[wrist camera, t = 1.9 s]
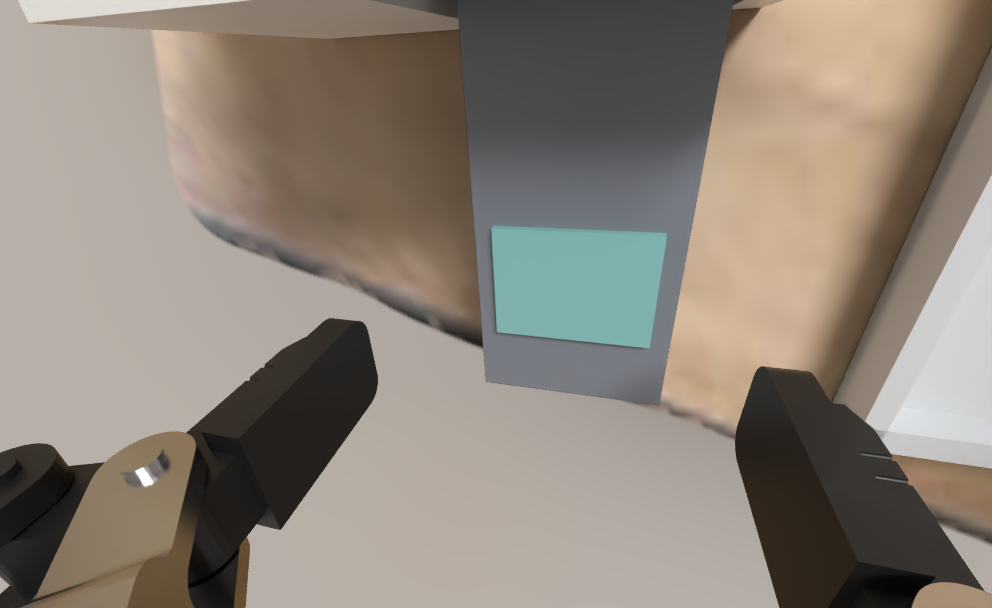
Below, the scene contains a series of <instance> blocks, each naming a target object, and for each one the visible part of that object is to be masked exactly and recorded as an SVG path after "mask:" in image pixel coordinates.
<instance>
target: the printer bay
mask: <svg viewBox="0 0 992 608" xmlns="http://www.w3.org/2000/svg"><path fill="white" fill-rule="evenodd" d="M18 1H19V3H20V6H21V8H22V9H23V12H24V14H25V16H26V18H27V20H28V22H29V23H37V24H56V25H77V26H95V27H114V28H115V27H116V28H133V29H152V30H171V31H190V32H210V33H229V34H248V35H267V36H286V37H306V38H325V39H333V38H347V37H361V36H375V35H388V34H402V33H416V32H430V31H444V30H457V29H459V19H458V6H457V0H18ZM779 1H782V0H734V1H733V7H732V10H733V9H747V8H761V7H765V6H768V5H771V4H774V3H777V2H779Z"/></svg>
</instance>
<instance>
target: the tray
mask: <svg viewBox="0 0 992 608" xmlns="http://www.w3.org/2000/svg"><path fill="white" fill-rule="evenodd" d="M832 403H836V404H844V405H845V406H847V407H848V408H849V409H850V410H852V411H853V412H854V413H855V414H856V415H858V416H859V417H860V418H861V419H863V420H864V421H865V422H866V423H867V424H869V425H870V426H871V427H872V428H874V430H875V431H876V433H877V434H878V436H879V437H880V439H881V440H882V442H883V443H884V444H885V446H886V447H887V449H888V450H889V452H890V453H891V454H895V455H902V456H909V457H916V458H923V459H929V460H936V461H943V462H950V463H957V464H964V465H971V466H978V467H984V468H991V469H992V48H991V50H990V53H989V55H988V57H987V59H986V62H985V64H984V66H983V68H982V71H981V73H980V75H979V77H978V79H977V82H976V84H975V86H974V88H973V91H972V93H971V95H970V97H969V99H968V102H967V104H966V106H965V108H964V111H963V113H962V115H961V117H960V119H959V122H958V124H957V126H956V128H955V131H954V133H953V135H952V137H951V139H950V142H949V144H948V146H947V148H946V151H945V153H944V155H943V157H942V160H941V162H940V164H939V166H938V168H937V171H936V173H935V175H934V177H933V180H932V182H931V184H930V186H929V188H928V191H927V193H926V195H925V197H924V200H923V202H922V204H921V206H920V208H919V211H918V213H917V215H916V217H915V220H914V222H913V224H912V226H911V229H910V231H909V233H908V235H907V237H906V240H905V242H904V244H903V246H902V249H901V251H900V253H899V255H898V257H897V260H896V262H895V264H894V266H893V269H892V271H891V273H890V275H889V277H888V280H887V282H886V284H885V286H884V289H883V291H882V293H881V295H880V297H879V300H878V302H877V304H876V306H875V309H874V311H873V313H872V315H871V318H870V320H869V322H868V324H867V326H866V329H865V331H864V333H863V335H862V338H861V340H860V342H859V344H858V346H857V349H856V351H855V353H854V355H853V358H852V360H851V362H850V364H849V366H848V369H847V371H846V373H845V375H844V378H843V380H842V382H841V384H840V387H839V389H838V391H837V393H836V395H835V398H834V400H833V402H832Z"/></svg>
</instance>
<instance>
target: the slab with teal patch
mask: <svg viewBox="0 0 992 608" xmlns="http://www.w3.org/2000/svg"><path fill="white" fill-rule="evenodd" d="M733 1H734V0H457V6H458V19H459V32H460V46H461V59H462V72H463V85H464V99H465V112H466V125H467V138H468V152H469V165H470V178H471V191H472V204H473V218H474V231H475V244H476V257H477V271H478V284H479V297H480V310H481V324H482V337H483V350H484V363H485V377H486V382H491V383H499V384H507V385H514V386H521V387H529V388H536V389H543V390H550V391H558V392H565V393H573V394H581V395H588V396H595V397H602V398H610V399H617V400H624V401H632V402H639V403H646V404H654V405H659V402H660V396H661V391H662V386H663V380H664V375H665V369H666V364H667V359H668V353H669V348H670V342H671V337H672V332H673V326H674V321H675V315H676V310H677V304H678V299H679V294H680V288H681V283H682V277H683V272H684V267H685V261H686V256H687V250H688V245H689V240H690V234H691V229H692V223H693V218H694V213H695V207H696V202H697V196H698V191H699V185H700V180H701V175H702V169H703V164H704V158H705V153H706V148H707V142H708V137H709V131H710V126H711V121H712V115H713V110H714V104H715V99H716V93H717V88H718V83H719V77H720V72H721V66H722V61H723V56H724V50H725V45H726V39H727V34H728V29H729V23H730V18H731V12H732V7H733Z"/></svg>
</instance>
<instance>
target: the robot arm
mask: <svg viewBox="0 0 992 608" xmlns="http://www.w3.org/2000/svg"><path fill="white" fill-rule="evenodd" d="M377 385H378V375H377V370H376V366H375V361H374V357H373V352H372V348H371V343H370V338H369V334H368V330H367V327H366V325H365V324H364V323H363V322H361V321H352V320H343V319H334V318H329V319H327V320H325V321H324V322H323V323H321V324H320V325H319V326H318V327H317V328H316V329H315V330H314V331H312V332H311V333H310V334H309V335H308V336H307V337H305V338H303V339H301V340H299V341H297V342H295V343H293V344H291V345H289V346H288V347H286V348H284V349H282V350H281V351H280V352H279V353H277V354H276V355H275V356H274V357H273V358H272V359H271V360H269V361H268V362H267V363H266V364H265V367H264V368H260V369H259V370H258V371H257V372H256V373H254V374H253V375H252V376H251V377H250V380H249V381H245V382H244V383H243V384H242V385H241V386H240V387H238V388H237V389H236V390H235V391H234V392H233V393H231V394H230V395H229V396H228V397H227V398H226V399H225V400H224V401H222V402H221V403H220V404H219V405H218V406H216V407H215V408H214V409H213V410H212V411H211V412H210V413H209V414H207V415H206V416H205V417H204V418H203V419H202V420H200V421H199V422H198V423H197V424H196V425H195V426H194V427H192V428H191V429H190V430H189V431H188V432H187V433H184V432H164V433H159V434H155V435H152V436H149V437H146V438H144V439H141V440H139V441H137V442H135V443H133V444H131V445H129V446H127V447H125V448H124V449H122V450H120V451H119V452H118V453H116V454H115V455H113V456H112V457H111V458H110V459H108V460H107V461H106V462H104V463H94V464H85V465H75V466H68V465H67V464H66V462H65V461H64V460H63V458H62V457H61V456H60V455H59V453H58V452H57V451H56V449H55V448H54V447H53V446H51V445H48V444H40V443H39V444H29V445H24V446H20V447H16V448H12V449H10V450H7V451H4V452H1V453H0V577H1V578H2V579H3V580H4V581H6V582H7V583H8V584H9V585H10V586H9V587H8V588H7V589H5V590H4V591H3V592H2V593H1V594H0V608H245V606H246V594H247V580H248V567H249V554H250V544H249V541H248V538H247V536H248V534H249V533H250V532H251V531H252V529H253V528H254V527H255V525H256V524H258V525H262V526H266V527H270V528H274V529H279V530H281V529H282V527H283V526H284V525H285V523H286V522H287V520H288V519H289V518H290V516H291V515H292V513H293V512H294V511H295V509H296V508H297V506H298V505H299V504H300V502H301V501H302V499H303V498H304V497H305V495H306V494H307V492H308V491H309V490H310V488H311V487H312V485H313V484H314V483H315V481H316V480H317V478H318V477H319V475H320V474H321V473H322V471H323V470H324V469H325V467H326V466H327V464H328V463H329V462H330V460H331V459H332V457H333V456H334V455H335V453H336V452H337V450H338V449H339V448H340V446H341V445H342V443H343V442H344V441H345V439H346V438H347V436H348V435H349V434H350V432H351V431H352V429H353V428H354V427H355V425H356V424H357V422H358V421H359V420H360V418H361V417H362V415H363V414H364V413H365V411H366V410H367V408H368V407H369V405H370V404H371V403H372V401H373V399H374V397H375V394H376V391H377ZM735 450H736V458H737V463H738V466H739V470H740V473H741V476H742V480H743V483H744V487H745V490H746V493H747V497H748V501H749V504H750V507H751V511H752V515H753V518H754V521H755V525H756V528H757V532H758V535H759V538H760V542H761V546H762V549H763V553H764V556H765V559H766V563H767V566H768V570H769V573H770V576H771V580H772V584H773V587H774V591H775V594H776V598H777V601H778V604H779V608H992V594H989V593H987V592H985V591H984V589H983V588H982V587H981V586H980V584H979V583H978V581H977V580H976V578H975V577H974V575H973V574H972V572H971V571H970V569H969V568H968V566H967V565H966V564H965V562H964V560H963V559H962V558H961V556H960V555H959V553H958V552H957V550H956V549H955V547H954V546H953V544H952V543H951V541H950V540H949V538H948V537H947V536H946V534H945V533H944V531H943V530H942V528H941V527H940V525H939V524H938V522H937V521H936V519H935V518H934V516H933V515H932V513H931V512H930V511H929V509H928V508H927V506H926V505H925V503H924V502H923V500H922V499H921V497H920V496H919V494H918V493H917V491H916V490H915V489H914V487H913V486H910V485H909V484H908V478H907V477H906V475H905V474H904V472H903V471H902V469H901V468H900V466H899V465H898V464H897V462H896V461H892V455H891V453H890V452H889V450H888V449H887V447H886V446H885V444H884V443H883V442H882V440H881V439H880V437H879V436H878V434H877V433H876V431H875V430H874V428H872V427H871V426H870V425H869V424H867V423H866V422H865V421H864V420H863V419H861V418H860V417H859V416H858V415H856V414H855V413H854V412H853V411H852V410H850V409H849V408H848V407H847V406H845V405H844V404H836V403H830V401H829V399H828V398H827V396H826V394H825V393H824V391H823V389H822V388H821V386H820V385H819V383H818V381H817V380H816V378H815V377H814V375H813V374H812V373H810V372H808V371H799V370H790V369H781V368H772V367H763V366H762V367H759V368H758V369H757V371H756V373H755V375H754V377H753V380H752V383H751V387H750V390H749V393H748V396H747V399H746V402H745V405H744V408H743V411H742V414H741V417H740V420H739V423H738V426H737V430H736V437H735Z"/></svg>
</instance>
